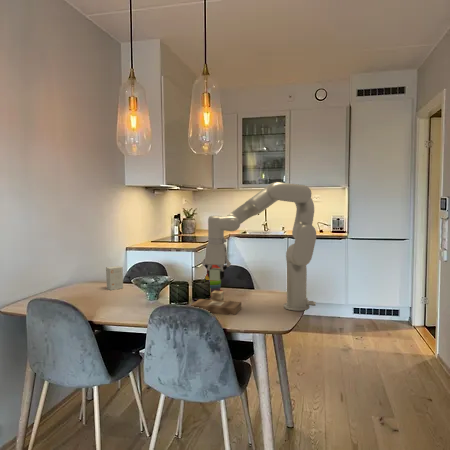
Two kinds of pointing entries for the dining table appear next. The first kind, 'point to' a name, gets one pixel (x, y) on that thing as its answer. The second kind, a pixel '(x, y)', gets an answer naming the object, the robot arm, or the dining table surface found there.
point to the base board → (218, 306)
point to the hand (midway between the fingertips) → (216, 278)
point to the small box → (114, 277)
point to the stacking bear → (214, 282)
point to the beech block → (217, 295)
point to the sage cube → (215, 274)
